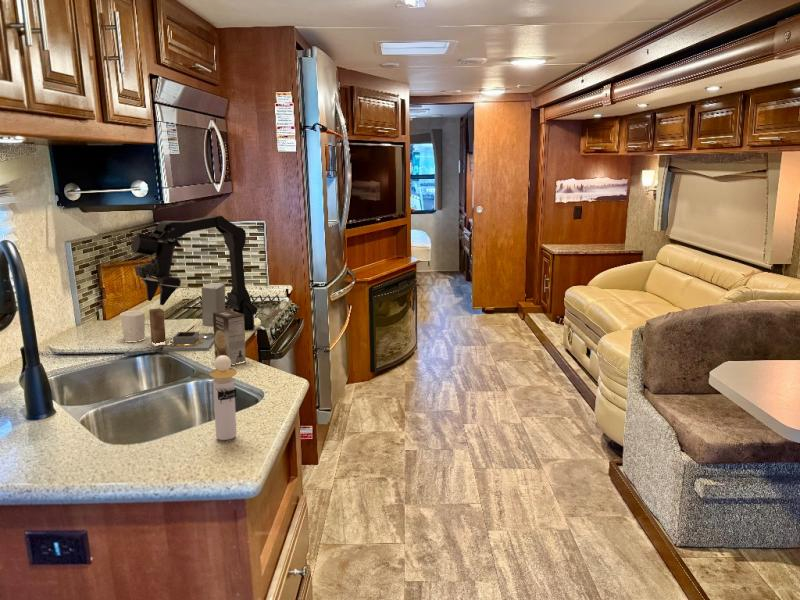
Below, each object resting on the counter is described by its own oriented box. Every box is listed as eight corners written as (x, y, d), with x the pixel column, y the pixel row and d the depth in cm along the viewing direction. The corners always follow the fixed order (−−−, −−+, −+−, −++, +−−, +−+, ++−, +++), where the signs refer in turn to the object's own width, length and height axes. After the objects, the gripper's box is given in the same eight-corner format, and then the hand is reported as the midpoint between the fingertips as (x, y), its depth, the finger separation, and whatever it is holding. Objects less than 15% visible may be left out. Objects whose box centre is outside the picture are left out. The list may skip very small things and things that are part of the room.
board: (218, 336, 219) (218, 333, 219) (208, 350, 201) (208, 347, 201) (176, 336, 217) (176, 333, 217) (162, 351, 200) (162, 348, 199)
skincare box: (211, 320, 241) (209, 282, 237) (227, 321, 240) (226, 283, 236) (201, 325, 233) (199, 286, 229) (218, 326, 232) (216, 287, 228)
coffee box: (213, 360, 191) (211, 312, 188) (231, 356, 196) (229, 309, 192) (229, 367, 185) (227, 317, 182) (246, 362, 190) (245, 314, 186)
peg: (162, 342, 210) (159, 308, 207) (165, 344, 207) (163, 310, 204) (151, 344, 207) (149, 309, 204) (155, 346, 205) (153, 311, 202)
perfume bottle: (209, 436, 137) (205, 354, 133) (233, 430, 140) (230, 350, 136) (218, 446, 132) (214, 361, 128) (243, 439, 136) (239, 356, 132)
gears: (217, 334, 217) (217, 326, 217) (208, 347, 202) (208, 338, 201) (177, 334, 216) (177, 326, 215) (165, 348, 200) (165, 339, 199)
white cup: (150, 337, 215) (148, 311, 213) (139, 343, 208) (137, 316, 205) (130, 336, 216) (127, 310, 214) (117, 342, 208) (115, 315, 206)
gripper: (128, 251, 201) (120, 296, 202) (152, 257, 189) (144, 305, 189) (159, 256, 210) (152, 299, 210) (185, 262, 197) (176, 308, 198)
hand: (155, 302), depth 202 cm, fingers open, 9 cm apart
